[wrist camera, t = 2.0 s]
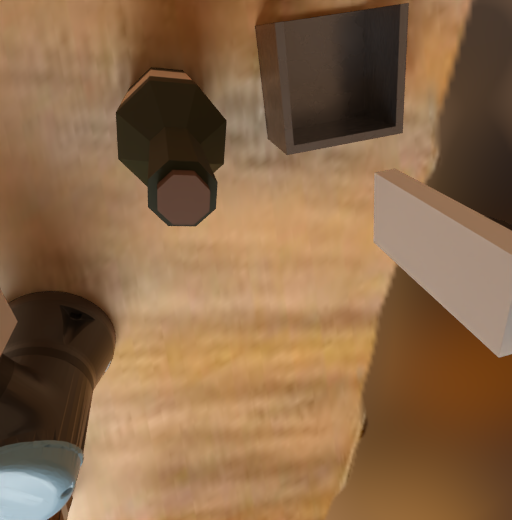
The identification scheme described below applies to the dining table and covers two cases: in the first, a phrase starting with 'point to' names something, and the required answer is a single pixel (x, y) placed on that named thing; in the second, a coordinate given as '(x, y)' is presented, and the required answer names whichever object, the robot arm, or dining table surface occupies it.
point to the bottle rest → (334, 77)
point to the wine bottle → (172, 144)
